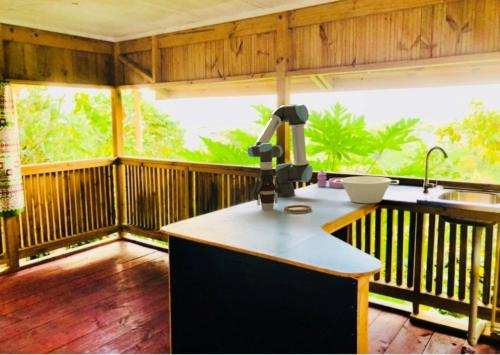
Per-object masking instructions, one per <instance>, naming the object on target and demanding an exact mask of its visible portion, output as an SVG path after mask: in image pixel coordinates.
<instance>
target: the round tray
mask: <svg viewBox="0 0 500 355" xmlns="http://www.w3.org/2000/svg"><path fill="white" fill-rule="evenodd" d="M283 211H284V212H285V213H288V214H294V215H295V214H307V213H311V212H312V211H313V209H312V206H310V205H307V204H292V205H286V206H284V208H283Z"/></svg>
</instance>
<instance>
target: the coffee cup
mask: <svg viewBox="0 0 500 355" xmlns="http://www.w3.org/2000/svg"><path fill="white" fill-rule="evenodd" d="M274 191H275V187H273V185H271V184H264V185H263V187H262V188H261V191H260V192H259V195H260V207H261V210H263V211H271V210H274V209H275V208H274V206H275V196H274Z"/></svg>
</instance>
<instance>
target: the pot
mask: <svg viewBox="0 0 500 355" xmlns="http://www.w3.org/2000/svg"><path fill="white" fill-rule="evenodd" d="M342 178H343V179H336V180H335V181H333V183H342V184H343V186H344V188H343V189H344V190H345V192H346V194H347V196H348V198H349V200H350V201H351V202H353V203H355V204H362V203H363V204H365V205H366V204H367V205H369V204H378V203H381V201H382V200H383V198H384V196H385V194H386V192H387V189H388V188H389V186H390V185H399V184H400V180H398V179H391V178H388V177H384V176H370V175H369V176H366V175H365V176H364V175H363V176H348V177H342ZM337 180H340V181H341V182H336V181H337Z"/></svg>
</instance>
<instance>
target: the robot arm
mask: <svg viewBox="0 0 500 355" xmlns="http://www.w3.org/2000/svg"><path fill="white" fill-rule="evenodd" d="M309 116H310V115H309V109H308V108H307V106H306V105H305V104H302V103H295V104H283V105H280V106H279V107H277V108H276V109H275V110H273V111H272V113H271V114H270V115H269V117H268V121H267V124H266V125H265V126H264V128H263V130H262V131H261V133H260V134H259V136H258V138H257V139H256V141H255V143H253V145H249V146H248V147H247V150H246V151H247V155H248V157H250V158H259V168H260V172H259V173H260V177H255V183H254V186H253V189H252V194H253V195H254V196H255V201H256V204H257V206H260V207H261V200H260V191H261V188H262V187H263V185H264V184H271V185H273V187H275V190H274V204H277V205H278V203H279V202H278V201H279V200H278V199H279V197H281V198H287V197H294V196H295V195H296V192H295V189H294V185H293V182H298V183H299V182H300V183H308V182H309V181H310V180H311V179H312V176H313V167H312V165H311V164H310V163H309V161H308V160H307V154H306V153H307V151H306V142H305V141H306V139H305V125H307V124H306V123H307V121H308V120H309ZM283 123H288V126H289V127H290V128H291V129H290V130H291V138H292V139H291V140H292V152H293V154H292V155H293V162H287V163H281V164H280V163H279V164H276V166H275V176H274V172H273V171H274V170H273V165H274V164H273V158H279V157H281V156H282V155H283V152H284V151H283V147H282V146H281V145H279V144H278V145H277V144H273V145H272V143H270V141H271V140H272V138H273V136H274V135H275V133H276V131H277V130H278V128H279V127H281V125H282V124H283ZM273 180H274V181H273Z"/></svg>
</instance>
